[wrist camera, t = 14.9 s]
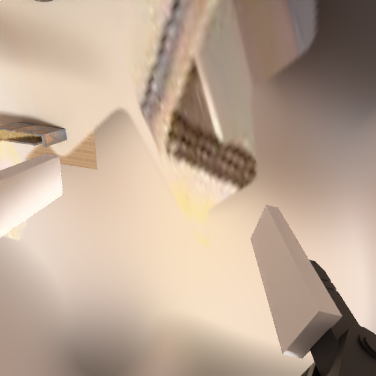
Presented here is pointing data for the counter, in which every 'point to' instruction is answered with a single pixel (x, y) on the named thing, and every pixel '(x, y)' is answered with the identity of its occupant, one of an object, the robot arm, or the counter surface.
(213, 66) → the counter surface
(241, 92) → the counter surface
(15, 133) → the ruin model on sheet
